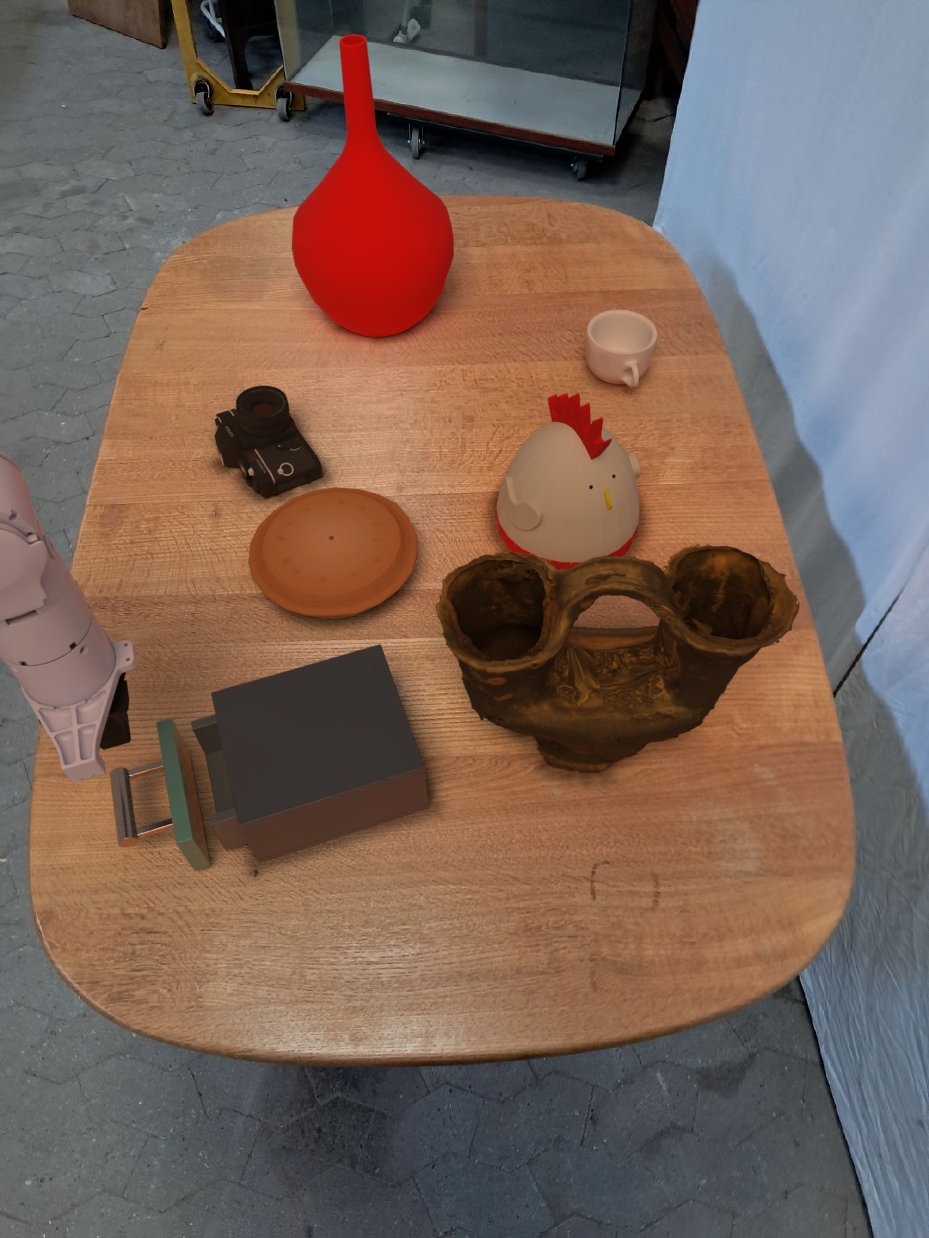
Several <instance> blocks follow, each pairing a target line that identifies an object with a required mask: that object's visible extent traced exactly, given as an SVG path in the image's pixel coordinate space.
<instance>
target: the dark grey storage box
mask: <svg viewBox="0 0 929 1238" xmlns="http://www.w3.org/2000/svg"><path fill="white" fill-rule="evenodd" d="M210 695H211V700H212V705H213V709H214V714H216V719H217V724H218V729H219V734H220V738H221V743H222V748H223V753H224V757H225V762H226V767H227V772H228V776H229V781H230V786H231V791H232V795H233V800H234V805H235V810H236V814H237V819H238V824H239V827H240V829H241V831H242V833H243V835H244V837H245V838H246V840H247V842H248V844H247V845H248V846H249V848H250V850H251V852H252V854H253V856H254V858H255V859H256V862H257V863H258V864H262V863H266V862H268V861H271V860H275V859H278V858H281V857H284V856H287V855H290V854H293V853H296V852H299V851H303V850H306V849H309V848H313V847H314V846H319V845H321V844H324V843H327V842H330V841H333V840H336V839H339V838H342V837H346V836H348V835H349V836H350V835H351V834H356V833H359V832H361V831H364V830H367V829H370V828H373V827H377V826H380V825H382V824H383V825H384V824H386V823H389V822H392V821H395V820H398V819H402V818H405V817H408V816H410V815H413V814H416V813H420V812H422V811H426V810H429V808H430V806H429V797H428V787H427V778H426V777H427V776H426V767H425V764H424V761H423V758H422V756H421V753H420V750H419V748H418V744H417V741H416V739H415V736H414V733H413V731H412V728H411V725H410V722H409V720H408V719H409V718H408V717H407V714H406V711H405V708H404V706H403V703H402V699H401V697H400V694H399V691H398V689H397V686H396V683H395V681H394V677H393V674H392V672H391V669H390V666H389V663H388V660H387V658H386V655H385V652H384V648H383V647H382V644H381V643H378V644H375V645H373V646H369V647H365V648H362V649H358V650H355V651H352V652H348V653H344V654H341V655H337V656H334V657H331V658H330V657H329V658H327V659H324V660H323V659H322V660H320V661H316V662H313V663H309V664H306V665H302V666H298V667H295V668H293V669H289V670H285V671H281V672H277V673H275V674H271V675H267V676H264V677H261V678H257V679H254V680H249V681H246V682H244V683H240V684H235V685H233V686H232V685H231V686H229V687H226V688H225V687H224V688H223V689H219V690H214V691H212V692H211V693H210Z"/></svg>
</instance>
